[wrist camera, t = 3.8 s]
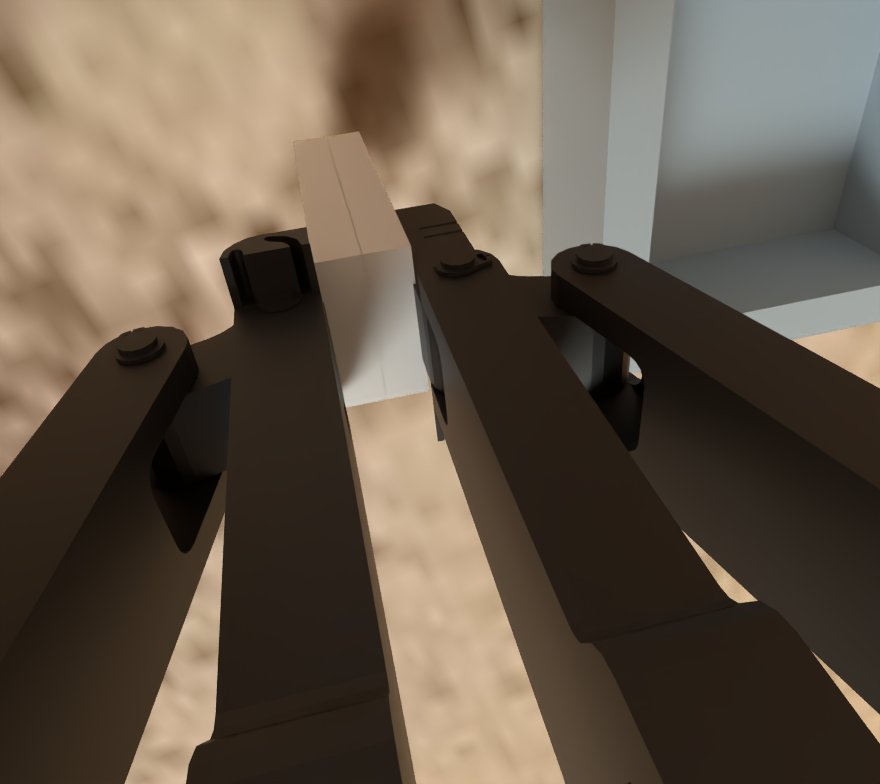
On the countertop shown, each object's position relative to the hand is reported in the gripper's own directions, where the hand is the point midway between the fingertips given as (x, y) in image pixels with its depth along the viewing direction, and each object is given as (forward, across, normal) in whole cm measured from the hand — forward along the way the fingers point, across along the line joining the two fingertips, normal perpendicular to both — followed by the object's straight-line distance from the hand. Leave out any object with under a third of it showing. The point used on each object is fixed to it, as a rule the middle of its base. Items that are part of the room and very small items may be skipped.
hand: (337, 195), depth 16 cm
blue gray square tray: (+2, +11, 0) cm, 11 cm away
